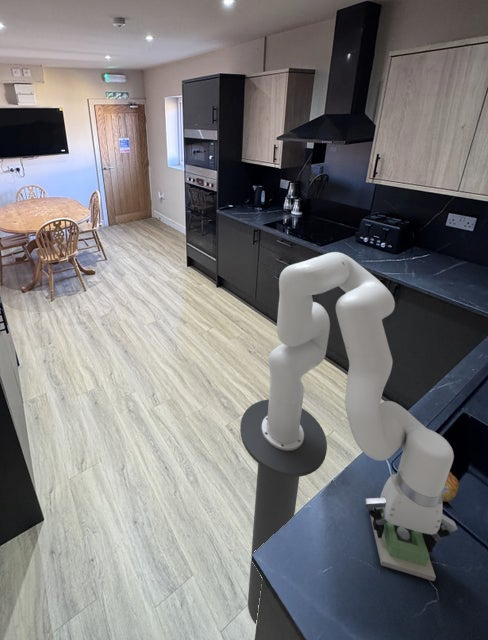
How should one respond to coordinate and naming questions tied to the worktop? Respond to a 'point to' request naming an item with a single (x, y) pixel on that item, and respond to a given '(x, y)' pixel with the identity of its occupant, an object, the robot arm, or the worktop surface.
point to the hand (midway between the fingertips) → (401, 537)
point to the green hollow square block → (406, 545)
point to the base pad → (399, 563)
